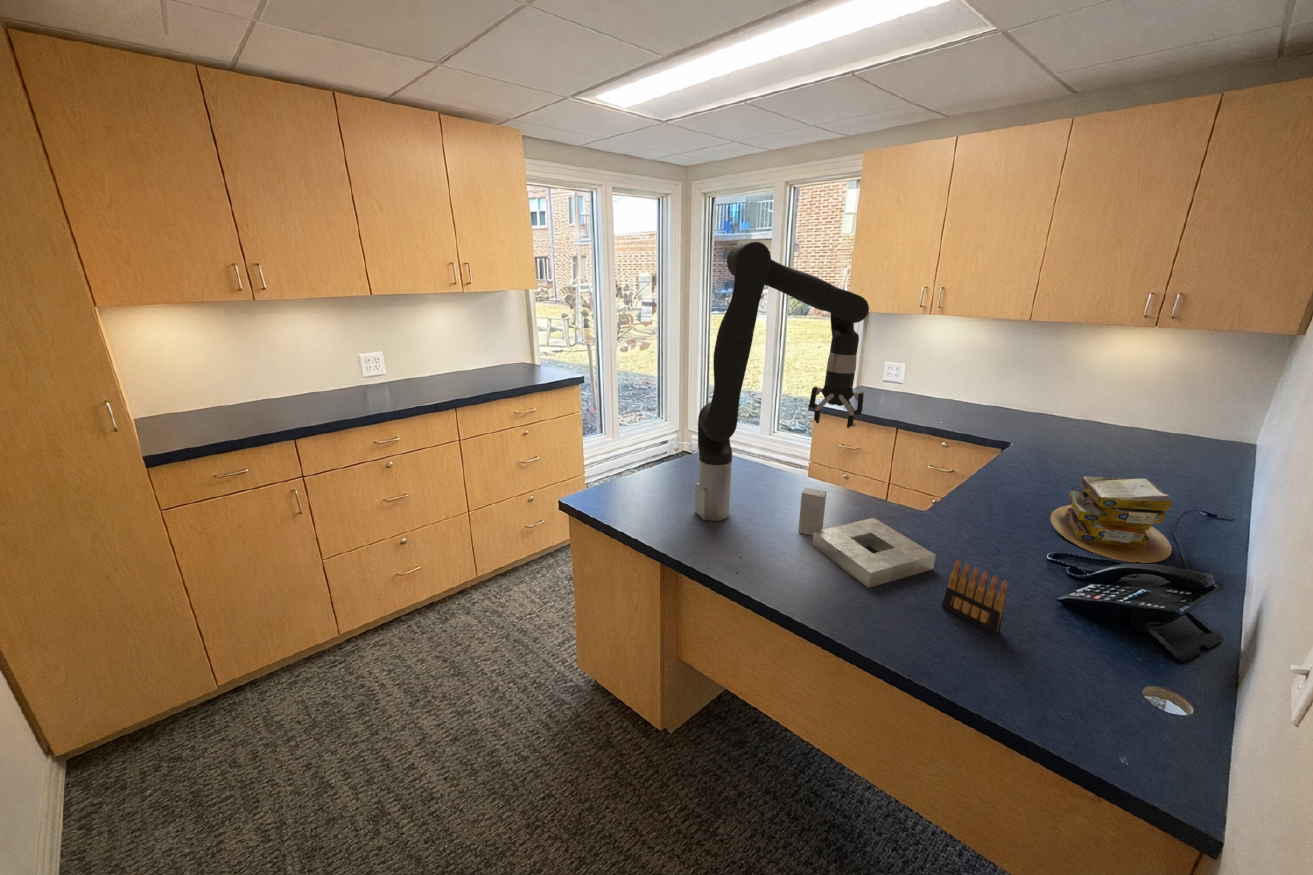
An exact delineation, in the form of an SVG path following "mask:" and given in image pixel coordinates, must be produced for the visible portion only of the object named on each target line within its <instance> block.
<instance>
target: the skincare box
mask: <svg viewBox="0 0 1313 875" xmlns="http://www.w3.org/2000/svg"><path fill="white" fill-rule="evenodd" d="M826 499H827V490H823V489H822V490H821V489H815V488H809V487H804V488H803V490H802V491H801V499H800V510H799V511H800V512H799V520H798V529H797V530H798V533H799V534H804V535H811V536H813V533H814V531H818V530H822V529H824V519H825V509H826V508H825V507H826Z"/></svg>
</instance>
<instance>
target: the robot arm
mask: <svg viewBox="0 0 1313 875" xmlns="http://www.w3.org/2000/svg"><path fill="white" fill-rule="evenodd" d="M726 257H727V258H726V265H727V269H728V271H729V273H730V274H731V275H732V276H733V277H734V281H733V290H732V295H731V298H730V301H729V305H728V307H727V309H726V312H725V313H724V314H723V315H724V316H722V317H723V318H722V319H721V321H720V325H719V327H718V331H717V335H716V339H715V345H714V350H713V361H712V362H713V366H712V367H713V393H712V397H711V402H708V403H706V404H705V405H704V406H702V408H701V409H700V411H699V414H698V418H697V447H698V448H697V449H698V453H699V456H698V457H699V458H698V462H699V463H698V482H695V494H694V496H695V497H694V513H696V514H697V515H698V517H699V518H701V519H702V520H703V521H714V522H715V521H716V522H717V521H723V520H726V519H727V518H729V516H730V502H731V500H730V499H731V485H732V484H731V483H732V482H731V481H732V480H731V479H732V466H733V465H732V463H733V449H732V446H731V441H730V440H731V439H730V438H732V436H733V435H734V433H735V432H736V429H737V425H738V420H739V419H738V417H739V410H740V409H739V408H740V399H741V398H740V397H741V394H742V393H741V392H742V388H743V385H744V384H743V383H744V379H745V376H746V371H747V366H748V362H749V357H750V354H751V350H752V349H751V347H752V345H753V339H754V332H755V327H756V323H757V317H758V312H759V306H760V302H761V298H762V294H763V291H764V288H765V287H766V286H767V287H769V288H770V289H774V290H777V291H778V292H781V293H783V294H785V295H787V296H789V297H791V298H793V299H795V300H797V301H800V302H801V303H803V304H805V305H807V306H810V307H811V308H814V309H816V310H819V311H823V312H828V313H830V314H829V315H830V330H831V342H830V350H829V354H828V358H827V363H826V364H827V365H826V371H825V372H826V373H825V379H824V385H823V387H822V388H821V387H818V386H816V385H815V386H813V387H812V389H811V394H810V399H809V403H808V406H809V408H812V409H813V410H814V416H813V421H815V423H816V424H819V423H820V422H821V412H822V408H823V407H824V406H826V404H828V405H830V406H838V407H842V406H844V408H845V410H847V412H848V417H847V421H846V422H847V424H846V429H850V428H851V427H853V425H854V421H855V420H854V419H855V416H856V415H862V412H863V408H864V406H863V405H864V396H865V395H864V394H865V392H864V391H860V392H856V391H854V390H853V387H854V381H855V374H856V370H857V355H858V349H859V341H860V336H859V334H858V333H857V332H856V331H855V325H854V324H856V323H857V324H858V323H860V322H862V321H863V320H865V318H867V316H868V315H869V311H870V306H869V303H868V301H867V300H866V298H864V297H863V296H861V295H859V294H856V293H854V292H851V291H848V290H847V289H846V290H845V289H842V288H841V287H840V288H839V287H837V286H835V285H834V284H832V283H830V282H829V281H826V280H824V279H821V278H820V277H818V276H815V275H813V274H810V273H808V272H804V271H802V270H798V269H795V268H792V267H789V266H787V265H784V264H783V263H779V262H778V261H775V260H773V259H772V255H771V251H770V249H769V248H768V246H766V245H765V243H763V242H762V241H761V242H760V241H757V240H756V241H755V240H754V241H751V240H750V241H743V242H740V243H738V244H736V245H734V246H733V247H732V248H731V249H730V250H729V252H728V254H727V256H726ZM820 393H822V395H823V397H824V398H823V399H822V400H821V401H820V402H819V403H818V404H817V403H816V400H817V396H818V395H820ZM853 397H854V399H855V401H857V404H856V406H857V407H856V409H855V408H854V407H853V405H852V403H851V401H850V400H851V399H852V398H853Z"/></svg>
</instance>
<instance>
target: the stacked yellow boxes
mask: <svg viewBox="0 0 1313 875" xmlns="http://www.w3.org/2000/svg"><path fill="white" fill-rule="evenodd" d="M1080 487H1081V488H1082V489H1083V490H1080V489H1079V490H1078V489H1076V488H1074V487H1072V486H1070V492H1069V494H1068V498H1067V500H1068V501H1069V503H1070V504H1068V505H1064V506H1060V507H1057V508H1055V509H1054V510H1053V511H1052V512H1051V515H1050V522H1051V524H1052V527H1053V528H1054V529H1055V531H1057V532H1058V533H1059V534H1060V535H1061V536H1063V537H1064V538H1065V539H1066V540H1068V541H1069V542H1071V543H1073V544H1074V545H1075V546H1078V547H1080V548H1082V549H1084V550H1086V551H1088V552H1091V553H1094V554H1096V555H1099V556H1103V557H1106V558H1109V559H1113V560H1117V561H1122V562H1129V563H1136V562H1140V563H1139V564H1149V563H1150V564H1151V563H1157V562H1160V561H1164V560H1167V559H1168V558H1169V557H1170V555H1171V554H1172V551H1173V550H1172V545H1171V543H1170V541H1169V540H1168V539H1167V537H1165V535H1164V534H1163V533H1162V532H1161V531H1159V530H1157V528H1155V527H1153V525H1154V524H1161V525H1162V524H1163V522H1164V520H1165V519H1166V516H1167V514H1166V513H1165V512H1164V511H1166V512H1168V511H1169V510H1170V508H1171V506H1172V504H1174V501H1173V500H1172V499H1171V496H1170V494H1166V493H1165V492H1164V491H1163V490H1162V489H1160V488H1158V487H1157V486H1156V485H1155V484H1154V483H1153V482H1151V481H1149V480H1148V479H1147V478H1127V477H1126V478H1124V477H1122V478H1121V477H1115V476H1114V477H1105V476H1087V475H1085V476H1082V479H1081V482H1080Z"/></svg>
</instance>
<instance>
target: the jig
mask: <svg viewBox="0 0 1313 875" xmlns="http://www.w3.org/2000/svg"><path fill="white" fill-rule="evenodd" d="M811 545H812V546H813V547H814V548H816V549H817V550H818V551H819V552H820V553H822V554H823V555H824V556H826V557H827V558H829V560H831V561H832V562H833V563H835V564H836V565H838V566H839V567H840V568H842V569H843V570H844V571H845V572H847V573H848V574H849V575H851V576H852V577H853V578H854V579H856V580H857V581H859V582H860V583H862V585H864V586H865V587H866V588H867V589H870V588H874V587H876V586H877V587H878V586H879V585H883V584H887V583H891V582H894V581H897V580H900V579H905V578H907V577H911V576H915V575H917V574H921V573H924V572H925V573H926V572H928V571H929V572H930V571H932V570H933V569H934V566H935V561H936V557H937V554H935V553H933V552H932V551H930V550H928V549H927V548H925V547H923V546H922V545H920V544H918V543H917V542H915V541H913V540H912V539H910V538H909V537H907V536H905V535H903V534H901V533H900V532H898V531H897V530H895V529H893V528H892V527H890V526H888V525H887V524H885V523H883V522H882V521H880V520H878V519H877V518H875V517H871V518H867V519H862V520H857V521H853V522H850V523H849V522H848V523H845V524H840V525H835V526H832V527H831V526H830V527H827V528H823V529H822V530H818V531H814V533H813V535H812V543H811ZM867 547H870V548H871V549H873V550H874V551H875V552H874V553H873V552H872V551H870V550H868V549H867Z"/></svg>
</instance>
